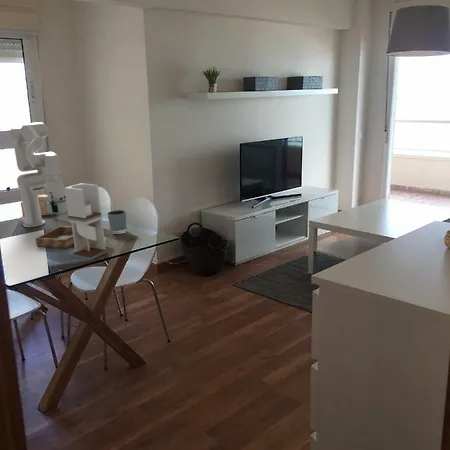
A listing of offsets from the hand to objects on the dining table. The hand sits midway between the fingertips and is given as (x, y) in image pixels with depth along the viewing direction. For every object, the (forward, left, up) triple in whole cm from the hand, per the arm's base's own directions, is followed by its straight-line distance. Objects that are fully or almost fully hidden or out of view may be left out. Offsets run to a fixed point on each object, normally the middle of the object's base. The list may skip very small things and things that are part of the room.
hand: (59, 210), depth 274 cm
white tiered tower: (+26, -17, -18) cm, 36 cm away
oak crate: (0, 0, -18) cm, 18 cm away
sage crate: (0, 0, -1) cm, 1 cm away
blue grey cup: (+23, +19, -18) cm, 35 cm away
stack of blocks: (-50, +50, -18) cm, 73 cm away
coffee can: (-63, +67, -18) cm, 94 cm away
